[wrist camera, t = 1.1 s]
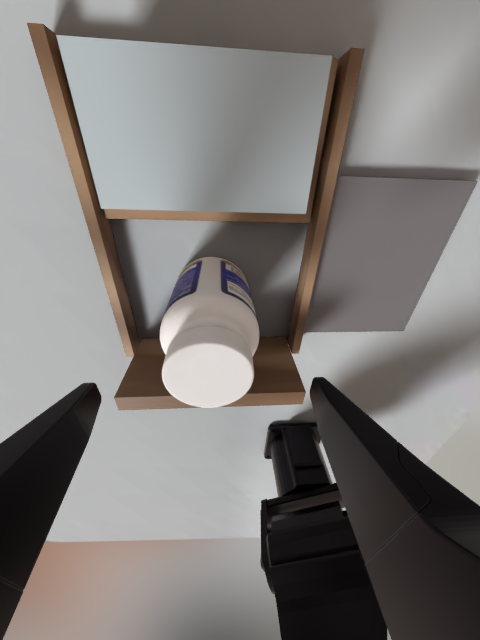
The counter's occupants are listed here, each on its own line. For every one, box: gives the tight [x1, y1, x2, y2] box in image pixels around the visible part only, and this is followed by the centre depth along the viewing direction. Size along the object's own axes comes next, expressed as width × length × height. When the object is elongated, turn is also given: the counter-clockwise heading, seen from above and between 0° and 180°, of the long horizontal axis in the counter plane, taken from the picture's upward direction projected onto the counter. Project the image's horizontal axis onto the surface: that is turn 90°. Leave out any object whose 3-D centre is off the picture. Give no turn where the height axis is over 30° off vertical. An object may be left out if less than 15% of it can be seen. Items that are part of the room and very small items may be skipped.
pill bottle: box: [160, 257, 259, 408], centre depth 14 cm, size 5×5×9 cm
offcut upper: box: [56, 35, 332, 214], centre depth 10 cm, size 5×9×2 cm, turn 88°
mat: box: [304, 176, 478, 332], centre depth 17 cm, size 11×9×1 cm
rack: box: [27, 23, 364, 410], centre depth 13 cm, size 18×14×6 cm
